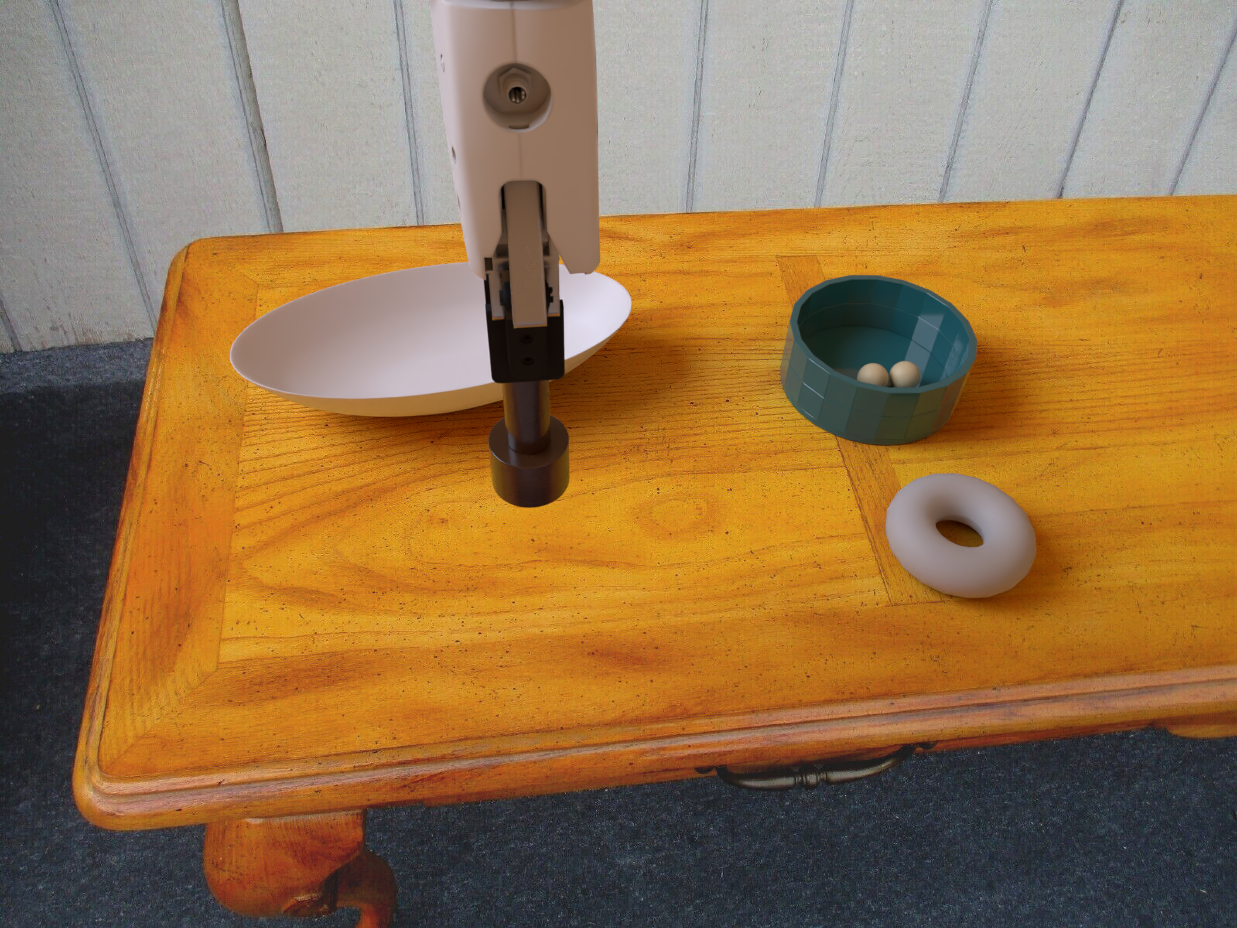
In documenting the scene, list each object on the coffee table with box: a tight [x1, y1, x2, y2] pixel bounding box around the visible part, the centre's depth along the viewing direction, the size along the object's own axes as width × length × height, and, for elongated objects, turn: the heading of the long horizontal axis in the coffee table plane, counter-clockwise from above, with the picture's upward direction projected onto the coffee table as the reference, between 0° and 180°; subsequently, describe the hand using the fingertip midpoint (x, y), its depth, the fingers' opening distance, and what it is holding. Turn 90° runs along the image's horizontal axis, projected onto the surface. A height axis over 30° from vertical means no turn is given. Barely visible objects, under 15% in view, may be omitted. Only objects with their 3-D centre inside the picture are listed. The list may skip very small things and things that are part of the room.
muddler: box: [487, 270, 571, 509], centre depth 44 cm, size 4×4×14 cm
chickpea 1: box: [857, 363, 889, 387], centre depth 75 cm, size 2×2×2 cm
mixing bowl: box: [779, 274, 978, 446], centre depth 76 cm, size 14×14×6 cm
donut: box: [884, 472, 1037, 599], centre depth 65 cm, size 10×4×10 cm
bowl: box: [229, 261, 633, 418], centre depth 74 cm, size 30×15×6 cm, turn 106°
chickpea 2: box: [889, 361, 921, 387], centre depth 75 cm, size 2×2×2 cm
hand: (525, 352), depth 43 cm, fingers closed on muddler, 2 cm apart
